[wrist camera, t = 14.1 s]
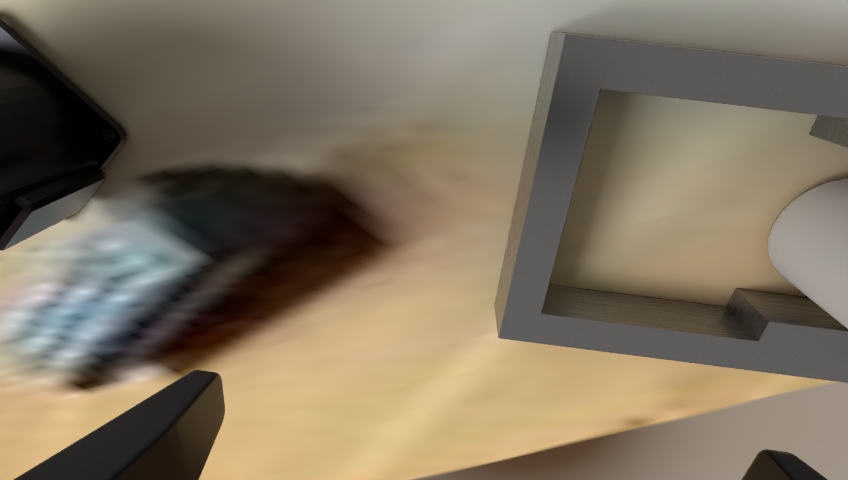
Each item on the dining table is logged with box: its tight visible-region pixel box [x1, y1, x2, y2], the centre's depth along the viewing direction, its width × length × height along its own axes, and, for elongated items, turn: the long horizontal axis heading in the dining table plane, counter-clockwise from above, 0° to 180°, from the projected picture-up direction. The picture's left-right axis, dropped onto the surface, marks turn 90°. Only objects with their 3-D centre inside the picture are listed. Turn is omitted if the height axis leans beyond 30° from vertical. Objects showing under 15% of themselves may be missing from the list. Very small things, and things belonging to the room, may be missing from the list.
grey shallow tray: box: [495, 32, 848, 383], centre depth 17 cm, size 18×12×4 cm
